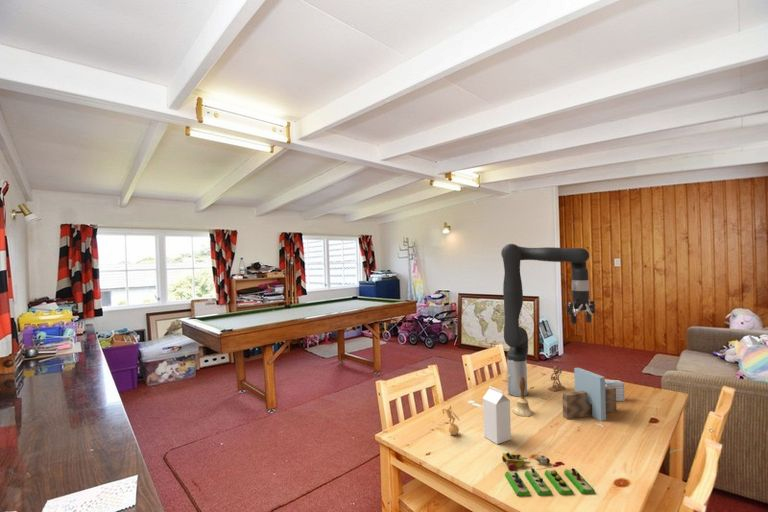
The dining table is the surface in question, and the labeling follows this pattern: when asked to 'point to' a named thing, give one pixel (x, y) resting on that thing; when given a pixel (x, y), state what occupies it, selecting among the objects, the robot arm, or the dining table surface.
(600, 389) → the blue-gray tapered panel
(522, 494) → the toy garden set
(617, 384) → the medicine box
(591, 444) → the dining table surface
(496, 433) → the milk carton
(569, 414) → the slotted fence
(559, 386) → the tan statuette
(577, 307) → the robot arm
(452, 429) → the figurine
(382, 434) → the dining table surface
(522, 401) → the hand bell
